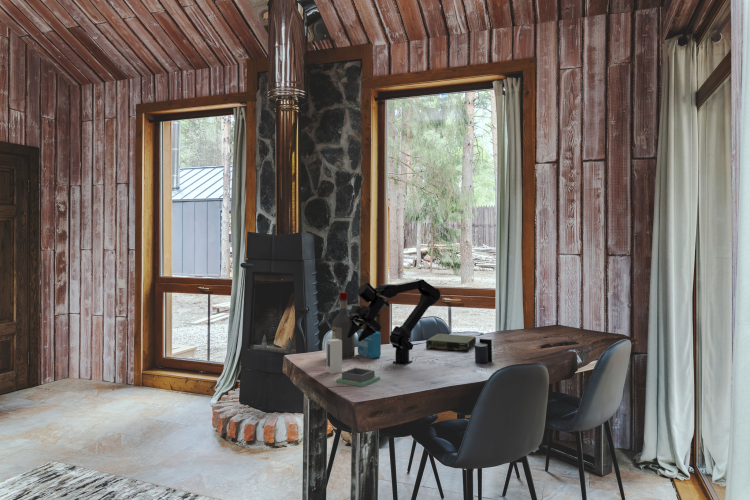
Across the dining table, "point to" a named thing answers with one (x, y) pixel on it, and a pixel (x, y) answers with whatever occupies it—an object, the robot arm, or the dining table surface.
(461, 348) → the network switch
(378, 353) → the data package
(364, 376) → the green and grey tray
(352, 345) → the liquor
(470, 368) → the dining table surface
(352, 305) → the robot arm
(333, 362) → the white rectangular block
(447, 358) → the dining table surface
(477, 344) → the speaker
